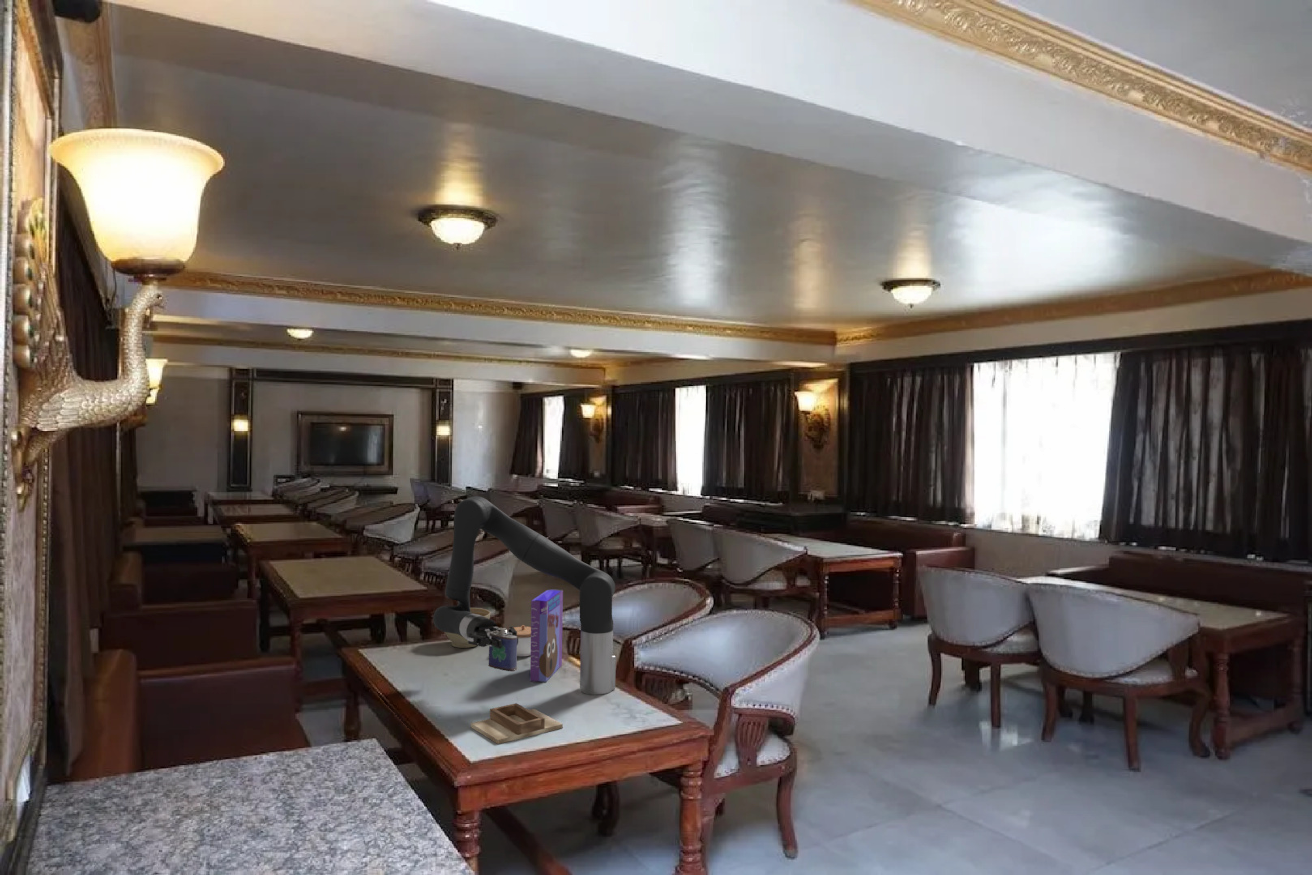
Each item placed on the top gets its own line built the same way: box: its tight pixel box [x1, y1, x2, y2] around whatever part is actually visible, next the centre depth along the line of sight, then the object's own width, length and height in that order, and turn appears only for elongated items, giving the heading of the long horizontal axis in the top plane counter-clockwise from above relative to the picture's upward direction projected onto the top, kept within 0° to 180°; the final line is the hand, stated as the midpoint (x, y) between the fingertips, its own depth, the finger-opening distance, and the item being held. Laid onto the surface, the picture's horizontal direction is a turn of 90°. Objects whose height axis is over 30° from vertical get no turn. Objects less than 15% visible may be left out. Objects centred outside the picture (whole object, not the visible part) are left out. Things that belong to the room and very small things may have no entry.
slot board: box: [470, 702, 563, 745], centre depth 213 cm, size 18×14×4 cm
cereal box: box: [529, 588, 564, 683], centre depth 259 cm, size 17×5×24 cm, turn 171°
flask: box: [488, 627, 518, 673], centre depth 225 cm, size 9×3×11 cm, turn 57°
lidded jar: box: [513, 624, 531, 657], centre depth 281 cm, size 11×11×9 cm
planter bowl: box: [444, 607, 491, 649], centre depth 291 cm, size 16×16×11 cm
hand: (508, 642), depth 223 cm, fingers closed on flask, 4 cm apart
